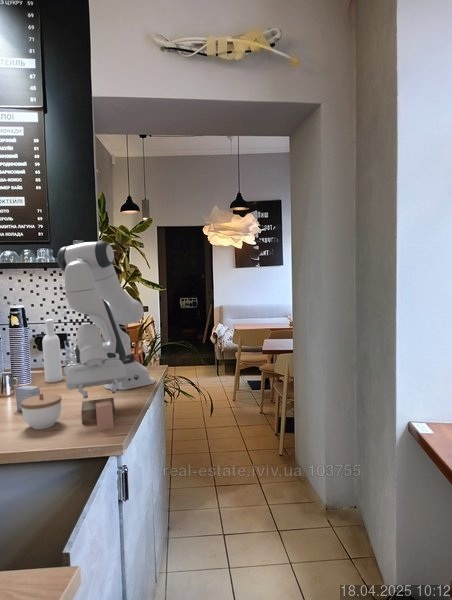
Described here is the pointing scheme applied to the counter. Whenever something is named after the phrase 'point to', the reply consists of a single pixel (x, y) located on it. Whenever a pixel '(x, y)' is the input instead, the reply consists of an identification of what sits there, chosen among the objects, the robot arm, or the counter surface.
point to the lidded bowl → (41, 410)
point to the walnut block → (93, 410)
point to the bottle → (51, 354)
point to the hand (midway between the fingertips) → (100, 395)
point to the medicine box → (25, 394)
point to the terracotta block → (104, 415)
